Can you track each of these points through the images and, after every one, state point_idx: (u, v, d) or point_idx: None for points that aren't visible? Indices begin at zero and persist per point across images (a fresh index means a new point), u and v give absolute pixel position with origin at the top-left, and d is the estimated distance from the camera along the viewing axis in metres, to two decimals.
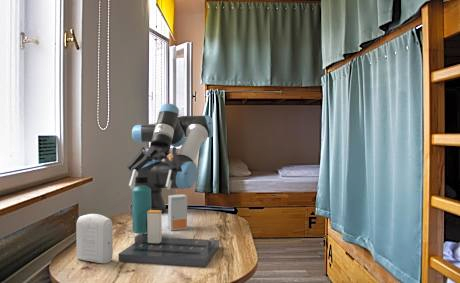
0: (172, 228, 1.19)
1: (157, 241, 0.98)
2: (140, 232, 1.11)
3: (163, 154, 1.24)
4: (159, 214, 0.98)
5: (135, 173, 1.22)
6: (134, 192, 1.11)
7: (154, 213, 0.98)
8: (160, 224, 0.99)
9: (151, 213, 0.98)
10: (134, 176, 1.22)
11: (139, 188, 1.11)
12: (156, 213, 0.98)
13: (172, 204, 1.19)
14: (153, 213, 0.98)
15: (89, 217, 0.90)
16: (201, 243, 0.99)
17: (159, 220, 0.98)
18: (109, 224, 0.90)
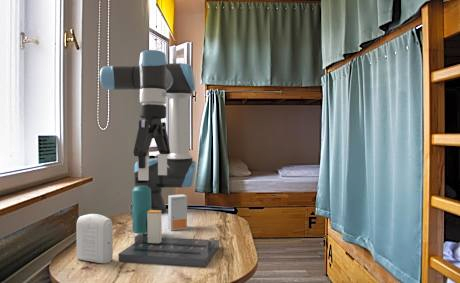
0: (172, 228, 1.19)
1: (157, 241, 0.98)
2: (140, 232, 1.11)
3: (162, 134, 1.01)
4: (159, 214, 0.98)
5: None
6: (134, 192, 1.11)
7: (154, 213, 0.98)
8: (160, 224, 0.99)
9: (151, 213, 0.98)
10: None
11: (139, 188, 1.11)
12: (156, 213, 0.98)
13: (172, 204, 1.19)
14: (153, 213, 0.98)
15: (89, 217, 0.90)
16: (201, 243, 0.99)
17: (159, 220, 0.98)
18: (109, 224, 0.90)
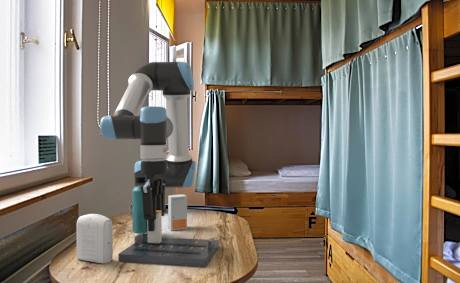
0: (172, 228, 1.19)
1: None
2: (140, 232, 1.11)
3: (161, 190, 1.00)
4: (159, 214, 0.98)
5: None
6: (134, 192, 1.11)
7: None
8: (160, 224, 0.99)
9: None
10: None
11: (139, 188, 1.11)
12: (156, 213, 0.98)
13: (172, 204, 1.19)
14: None
15: (90, 217, 0.90)
16: (201, 243, 0.99)
17: (159, 220, 0.98)
18: (109, 224, 0.90)
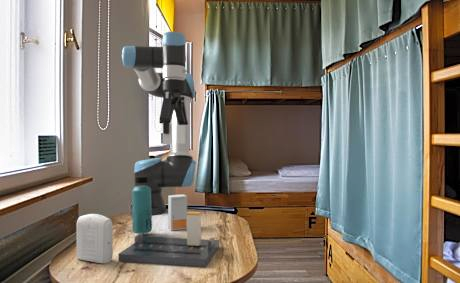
0: (172, 228, 1.19)
1: (197, 243, 0.96)
2: (140, 232, 1.11)
3: (182, 106, 1.16)
4: (199, 216, 0.96)
5: None
6: (134, 192, 1.11)
7: (194, 215, 0.96)
8: (200, 226, 0.97)
9: (191, 215, 0.96)
10: None
11: (139, 188, 1.11)
12: (196, 215, 0.96)
13: (172, 204, 1.19)
14: (193, 215, 0.96)
15: (90, 217, 0.90)
16: (201, 243, 0.99)
17: (199, 222, 0.96)
18: (109, 224, 0.90)
